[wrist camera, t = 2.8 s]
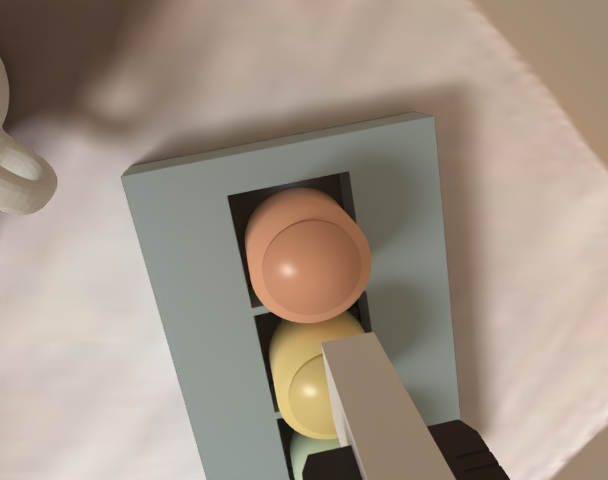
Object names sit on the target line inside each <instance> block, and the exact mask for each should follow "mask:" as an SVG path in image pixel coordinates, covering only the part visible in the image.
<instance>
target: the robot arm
mask: <svg viewBox="0 0 608 480" xmlns="http://www.w3.org/2000/svg"><path fill="white" fill-rule="evenodd" d="M321 347H322V353H323V359H324V365H325V371H326V377H327V383H328V389H329V395H330V402H331V408H332V414H333V420H334V425H335V429H336V432H337V435H338V439H339V442H340V445H341V447H340V448H335V449H331V450H327V451H322V452H318V453H313V454H309V455H308V456H307V459H306V462H305V465H304V468H303V471H302V477H303V480H510V479H509V477H508V476H507V474H506V473H505V471H504V470H503V469H502V467H501V466H499V463H498V461H497V460H496V458H495V457H494V455H493V454H492V452H490V451H489V448H488V447H487V445H486V444H485V442H484V441H483V439H482V438H481V436H480V435H479V434H478V432H477V431H475V430H474V429H472V428H471V427H469V426H468V425H466V424H465V423H464V422H462V421H461V420H459V419H457V420H453V421H448V422H444V423H440V424H435V425H431V426H426V425H425V423H424V421H423V419H422V418H421V416H420V414H419V412H418V410H417V409H416V407H415V405H414V403H413V401H412V400H411V398H410V396H409V394H408V392H407V391H406V389H405V387H404V385H403V383H402V382H401V380H400V378H399V376H398V374H397V373H396V371H395V369H394V367H393V365H392V364H391V362H390V360H389V358H388V356H387V355H386V353H385V351H384V349H383V347H382V346H381V344H380V342H379V340H378V338H377V337H376V335H375V333H374V332H370V333H365V334H360V335H356V336H351V337H346V338H341V339H337V340H332V341H327V342H322V343H321Z"/></svg>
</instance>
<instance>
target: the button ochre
mask: <svg viewBox="0 0 608 480" xmlns="http://www.w3.org/2000/svg"><path fill="white" fill-rule="evenodd" d="M360 334H365V332H364V330H363V328H362V326H361V324H360V323H359V321H358V320H357V319H356V318H355V317H354V316H353V315H352V314H351V313H349V312H348V311H347V310H345V311H344V312H343V313H341V314H339V315H337V316H335V317H333V318H331V319H328V320H325V321H321V322H315V323H298V322H293V321H289V320H286V319H284V320H282V321H281V323H280V324H279V325H278V326H277V328H276V329H275V331H274V333H273V335H272V337H271V341H270V345H269V360H270V365H271V371H272V376H273V381H274V387H275V392H276V397H277V403H278V407H279V410H280V413H281V415H282V417H283V418H284V420H285V421H286V422H287V423H288V425H289V426H290V427H292V428H293V429H294V430H295V431H297V432H299V433H300V434H302V435H305V436H307V437H311V438H315V439H325V440H328V439H337V438H338V435H337V432H336V429H335V425H334V420H333V414H332V408H331V402H330V395H329V389H328V383H327V377H326V371H325V365H324V359H323V353H322V347H321V343H322V342H327V341H332V340H337V339H341V338H346V337H351V336H356V335H360Z"/></svg>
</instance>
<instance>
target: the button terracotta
mask: <svg viewBox="0 0 608 480" xmlns="http://www.w3.org/2000/svg"><path fill="white" fill-rule="evenodd" d="M245 248H246V255H247V261H248V266H249V272H250V278H251V283H252V286H253V289H254V291H255V293H256V295H257V297H258V298H259V300H260V301H261V302H262V303H263V305H264V306H265V307H266V308H268V309H269V310H270V311H271V312H273V313H274V314H276V315H277V316H279V317H281V318H283V319H286V320H289V321H293V322H298V323H315V322H321V321H325V320H328V319H331V318H333V317H335V316H337V315H339V314H341V313H343V312H344V311H345V310H347V309H348V308H349V307H350V306H351V305H352V304H354V303H355V301H356V300H357V299H358V298H359V297H360V295H361V294H362V292H363V291H364V289H365V287H366V285H367V282H368V279H369V276H370V271H371V252H370V247H369V244H368V241H367V239H366V237H365V235H364V233H363V232H362V230H361V229H360V228H359V227H358V225H357V224H356V223H355V222H354V221H353V220H352V219H351V218H350V217H349V215H348V214H347V213H346V212H345V211H344V210H343V209H342V208H341V207H340V205H339V204H338V203H337V202H336V201H335V200H334V199H333V198H331V197H330V196H329V195H327V194H325V193H324V192H321V191H319V190H317V189H313V188H308V187H291V188H286V189H283V190H280V191H277V192H275V193H273V194H272V195H270V196H268V197H267V198H266V199H264V200H263V201H262V202H261V203H260V204H259V205H258V206H257V207H256V209H255V210H254V211H253V213H252V215H251V216H250V218H249V221H248V223H247V227H246V231H245Z"/></svg>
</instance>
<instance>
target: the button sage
mask: <svg viewBox="0 0 608 480" xmlns="http://www.w3.org/2000/svg"><path fill="white" fill-rule="evenodd" d="M340 447H341V445H340V442H339V439H338V438H337V439H328V440H325V439H315V438H311V437H307V436H305V435H302V434H300V433H299V432H297V431H294V433H293V436H292V438H291V442H290V457H291V462H292V467H293V473H294V478H295V480H303V477H302V471H303V468H304V465H305V462H306V459H307V456H308V455H309V454H313V453H318V452H322V451H327V450H331V449H335V448H340Z"/></svg>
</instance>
